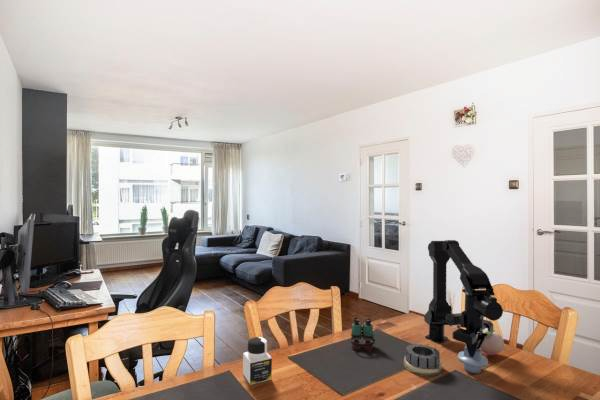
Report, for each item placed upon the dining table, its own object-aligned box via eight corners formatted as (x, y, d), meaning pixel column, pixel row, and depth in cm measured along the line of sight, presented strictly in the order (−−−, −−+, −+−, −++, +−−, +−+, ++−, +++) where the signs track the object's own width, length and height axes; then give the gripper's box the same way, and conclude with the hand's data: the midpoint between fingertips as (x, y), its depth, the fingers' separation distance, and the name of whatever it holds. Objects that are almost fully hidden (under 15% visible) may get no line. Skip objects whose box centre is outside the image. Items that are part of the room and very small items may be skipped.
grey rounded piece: (452, 368, 117) (453, 347, 117) (464, 359, 123) (465, 340, 123) (481, 379, 111) (482, 357, 110) (491, 370, 117) (492, 349, 116)
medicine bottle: (250, 385, 106) (250, 346, 106) (242, 374, 112) (243, 337, 112) (271, 379, 109) (272, 341, 109) (263, 369, 116) (263, 333, 115)
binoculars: (351, 327, 127) (350, 315, 137) (351, 355, 128) (350, 340, 138) (376, 329, 126) (373, 316, 136) (376, 356, 127) (373, 341, 137)
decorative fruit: (503, 363, 122) (504, 335, 121) (477, 357, 126) (477, 330, 125) (503, 353, 130) (504, 326, 130) (478, 347, 134) (479, 322, 134)
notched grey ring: (415, 355, 127) (415, 340, 127) (447, 368, 118) (448, 352, 118) (396, 366, 119) (397, 350, 119) (430, 380, 110) (430, 363, 110)
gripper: (461, 298, 129) (460, 340, 129) (437, 309, 116) (436, 355, 117) (494, 305, 120) (493, 350, 121) (472, 318, 108) (470, 368, 108)
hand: (472, 355), depth 117 cm, fingers closed on grey rounded piece
